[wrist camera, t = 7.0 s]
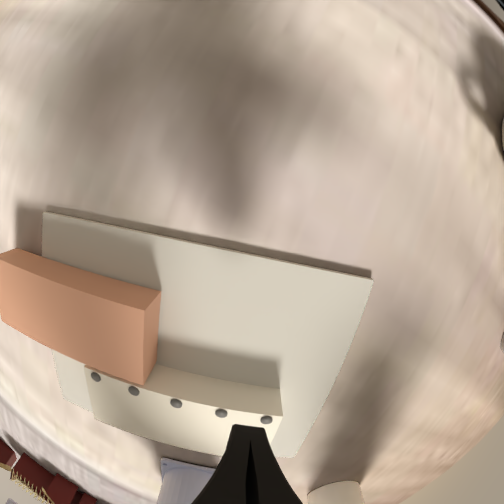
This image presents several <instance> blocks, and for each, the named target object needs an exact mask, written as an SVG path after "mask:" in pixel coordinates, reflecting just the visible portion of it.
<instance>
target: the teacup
mask: <svg viewBox="0 0 504 504" xmlns="http://www.w3.org/2000/svg"><path fill="white" fill-rule="evenodd" d="M502 143H503V149H504V119H503V123H502Z"/></svg>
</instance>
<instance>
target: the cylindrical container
mask: <svg viewBox="0 0 504 504" xmlns="http://www.w3.org/2000/svg"><path fill="white" fill-rule="evenodd" d="M307 502H308V504H365V503H364V499H363V496H362V492H361V489H360V485H359V483H358V482H356V481H340V482H335V483H331V484H327V485H325V486H322V487H319V488H317V489H315V490H313V491H312V492H310V493H309V494H308V496H307Z"/></svg>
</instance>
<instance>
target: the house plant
mask: <svg viewBox="0 0 504 504" xmlns="http://www.w3.org/2000/svg"><path fill="white" fill-rule="evenodd" d="M501 350H502V351H503V353H504V334H503V337H502V340H501Z"/></svg>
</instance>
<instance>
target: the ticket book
mask: <svg viewBox="0 0 504 504" xmlns="http://www.w3.org/2000/svg"><path fill="white" fill-rule="evenodd" d="M84 371H85V377H86V382H87V387H88V392H89V397H90V401H91V406H92V410H93V414H94V418H95V419H96V420H99V421H101V422H103V423H106V424H108V425H111V426H113V427H116V428H119V429H121V430H124V431H127V432H129V433H132V434H135V435H138V436H141V437H144V438H148V439H151V440H154V441H157V442H161V443H165V444H168V445H172V446H176V447H180V448H184V449H188V450H193V451H197V452H202V453H207V454H213V455H219V456H223V454H224V452H225V450H226V446H227V442H228V439H229V435H230V432H231V428H232V425H234V424H240V425H246V426H254V427H262V428H264V429H265V431H266V434H267V438H268V441H269V443H270V444H271V442H272V440H273V438H274V436H275V433H276V431H277V429H278V427H279V425H280V422H281V420H282V418H283V411H282V402H281V393H280V389H278V388H270V387H263V386H256V385H249V384H243V383H237V382H232V381H226V380H221V379H216V378H211V377H207V376H202V375H198V374H193V373H189V372H185V371H181V370H177V369H173V368H169V367H166V366H162V365H158V364H155V365H154V367H153V369H152V371H151V372H150V374H149V376H148V378H147V380H146V382H145V384H144V386H143V385H140V384H137V383H134V382H131V381H128V380H125V379H122V378H119V377H116V376H114V375H111V374H108V373H106V372H103V371H100V370H98V369H95V368H93V367H90V366H88V365H85V366H84Z"/></svg>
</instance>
